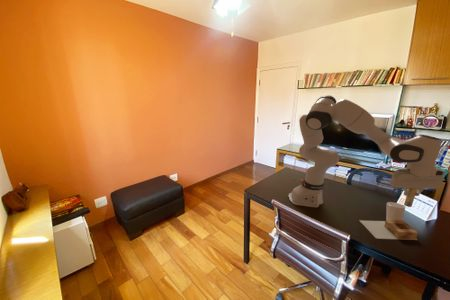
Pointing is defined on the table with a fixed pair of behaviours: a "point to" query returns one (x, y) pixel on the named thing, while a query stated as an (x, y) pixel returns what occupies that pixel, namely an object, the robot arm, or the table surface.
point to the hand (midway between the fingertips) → (411, 195)
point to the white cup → (395, 211)
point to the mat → (379, 230)
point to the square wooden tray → (401, 229)
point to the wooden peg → (410, 197)
